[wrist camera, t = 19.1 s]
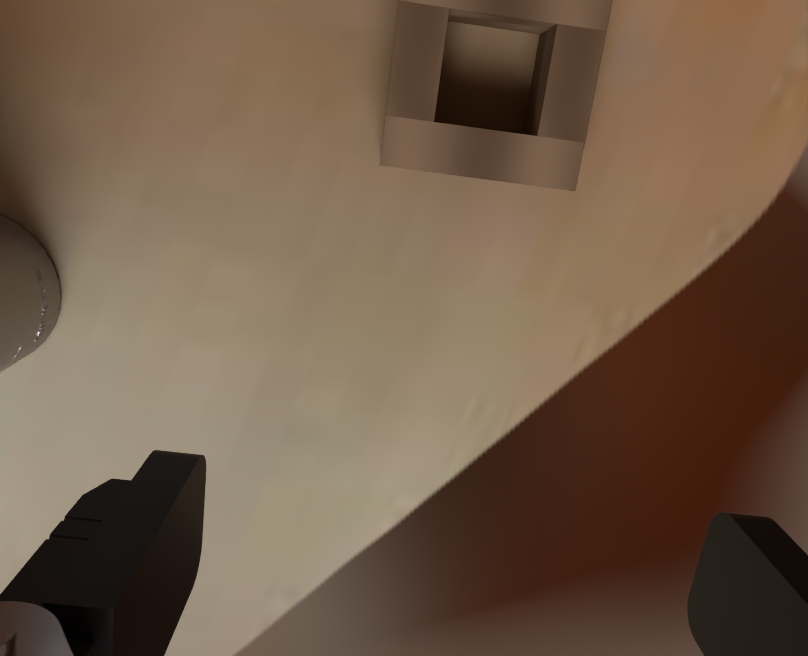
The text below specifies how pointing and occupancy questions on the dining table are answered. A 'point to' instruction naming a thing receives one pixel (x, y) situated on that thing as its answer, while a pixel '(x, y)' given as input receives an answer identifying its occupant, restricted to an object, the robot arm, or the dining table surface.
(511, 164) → the socket block
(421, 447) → the dining table surface
